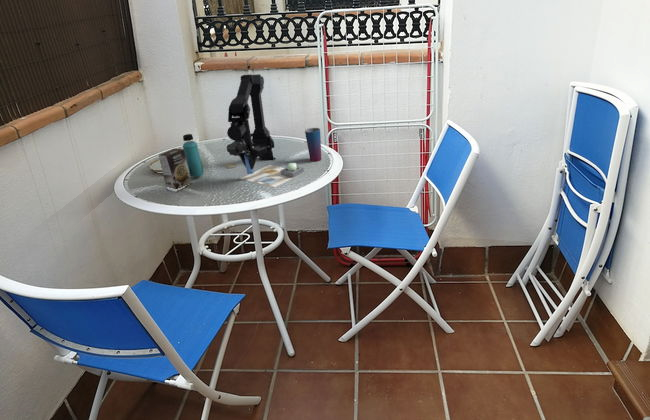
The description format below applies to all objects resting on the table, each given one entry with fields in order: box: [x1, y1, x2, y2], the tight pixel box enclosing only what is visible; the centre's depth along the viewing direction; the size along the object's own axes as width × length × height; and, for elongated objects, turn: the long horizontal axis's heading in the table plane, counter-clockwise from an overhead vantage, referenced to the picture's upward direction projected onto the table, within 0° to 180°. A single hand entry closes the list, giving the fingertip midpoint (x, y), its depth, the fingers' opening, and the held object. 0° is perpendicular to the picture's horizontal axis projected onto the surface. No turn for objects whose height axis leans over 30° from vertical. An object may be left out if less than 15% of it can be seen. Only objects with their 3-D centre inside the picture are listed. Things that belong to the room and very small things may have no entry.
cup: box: [304, 127, 322, 163], centre depth 217 cm, size 7×7×15 cm
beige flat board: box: [240, 164, 299, 188], centre depth 208 cm, size 23×20×1 cm
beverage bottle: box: [182, 133, 205, 178], centre depth 213 cm, size 6×7×20 cm
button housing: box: [281, 165, 305, 179], centre depth 207 cm, size 7×7×2 cm
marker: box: [244, 154, 255, 175], centre depth 205 cm, size 3×3×8 cm
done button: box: [286, 162, 297, 172], centre depth 206 cm, size 4×4×3 cm
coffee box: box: [158, 148, 193, 189], centre depth 205 cm, size 9×6×16 cm
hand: (249, 168), depth 205 cm, fingers closed on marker, 3 cm apart
